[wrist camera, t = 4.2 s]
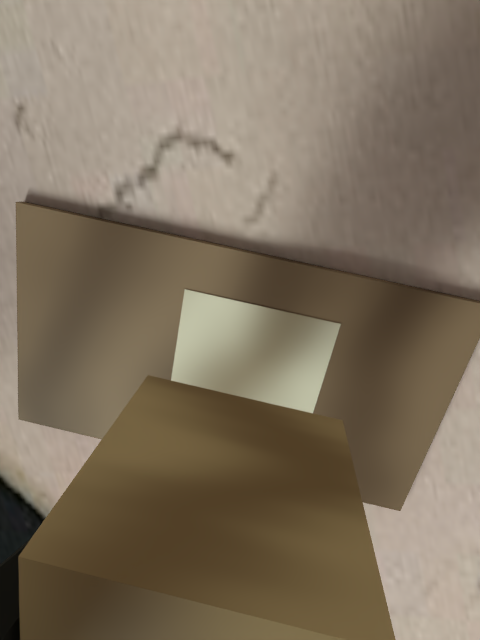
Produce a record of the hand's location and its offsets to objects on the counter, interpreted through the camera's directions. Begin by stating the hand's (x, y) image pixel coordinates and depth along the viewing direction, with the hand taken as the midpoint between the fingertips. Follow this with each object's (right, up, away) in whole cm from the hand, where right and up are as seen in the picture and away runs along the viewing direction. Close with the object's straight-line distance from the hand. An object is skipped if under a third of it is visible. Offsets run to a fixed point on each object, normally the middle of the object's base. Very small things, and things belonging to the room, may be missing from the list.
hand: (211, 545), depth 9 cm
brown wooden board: (0, +3, +9) cm, 9 cm away
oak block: (0, 0, +2) cm, 2 cm away
